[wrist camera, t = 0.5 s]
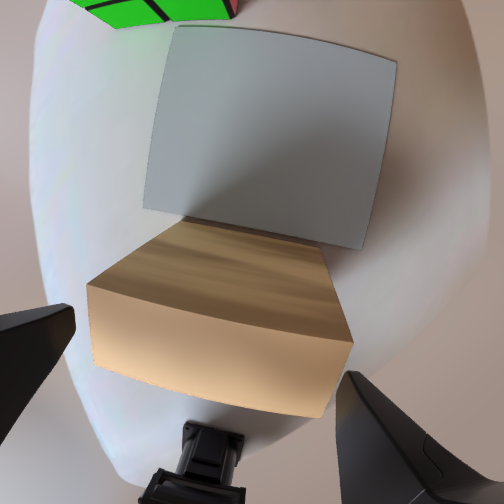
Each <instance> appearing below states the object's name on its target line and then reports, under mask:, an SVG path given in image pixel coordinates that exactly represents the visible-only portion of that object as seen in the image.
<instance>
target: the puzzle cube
mask: <svg viewBox="0 0 504 504" xmlns="http://www.w3.org/2000/svg"><path fill="white" fill-rule="evenodd" d="M70 1H72V2H73V3H75V4H77V5H79V6H80V7H82V8H84V7H85V9H86V10H87V11H88V12H90V13H91V14H93V15H95V16H96V17H98V18H99V19H101V20H103V21H104V22H106V23H107V24H109V25H110V26H112V27H113V28H115V29H119V28H125V27H131V26H138V25H145V24H153V23H163V22H166V21H167V20H168V19H169V18H170V19H171V20H172V21H186V20H214V19H232V18H233V17H235V16H236V10H237V4H238V0H70Z"/></svg>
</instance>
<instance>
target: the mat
mask: <svg viewBox="0 0 504 504" xmlns="http://www.w3.org/2000/svg"><path fill="white" fill-rule="evenodd" d="M396 66H397V63H396V62H393V61H390V60H387V59H384V58H381V57H378V56H375V55H372V54H368V53H365V52H361V51H358V50H354V49H351V48H347V47H343V46H339V45H335V44H331V43H327V42H322V41H317V40H313V39H308V38H302V37H297V36H291V35H285V34H279V33H272V32H264V31H255V30H246V29H234V28H218V27H175V30H174V33H173V37H172V41H171V45H170V49H169V53H168V57H167V61H166V65H165V70H164V74H163V79H162V83H161V88H160V93H159V98H158V103H157V108H156V114H155V119H154V125H153V131H152V137H151V144H150V151H149V158H148V165H147V173H146V181H145V190H144V199H143V208H145V209H151V210H156V211H162V212H168V213H173V214H179V215H184V216H190V217H195V218H201V219H206V220H212V221H217V222H222V223H227V224H233V225H238V226H243V227H248V228H253V229H259V230H264V231H269V232H274V233H279V234H284V235H289V236H294V237H299V238H304V239H308V240H313V241H318V242H323V243H328V244H332V245H337V246H342V247H347V248H351V249H356V250H362V246H363V242H364V239H365V235H366V231H367V227H368V223H369V219H370V215H371V211H372V207H373V202H374V198H375V194H376V189H377V185H378V180H379V175H380V170H381V165H382V160H383V155H384V150H385V144H386V139H387V133H388V127H389V120H390V114H391V107H392V100H393V92H394V84H395V76H396Z"/></svg>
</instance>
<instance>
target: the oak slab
mask: <svg viewBox="0 0 504 504" xmlns="http://www.w3.org/2000/svg"><path fill="white" fill-rule="evenodd" d="M86 287H87V304H88V316H89V327H90V336H91V345H92V352H93V360H94V365H97V366H99V367H102V368H105V369H107V370H110V371H113V372H116V373H118V374H121V375H124V376H127V377H130V378H133V379H136V380H139V381H142V382H145V383H149V384H152V385H155V386H158V387H162V388H165V389H169V390H172V391H176V392H179V393H183V394H187V395H191V396H195V397H199V398H203V399H207V400H211V401H216V402H220V403H225V404H230V405H235V406H240V407H245V408H250V409H256V410H262V411H268V412H274V413H281V414H288V415H295V416H303V417H312V418H321V416H322V414H323V412H324V410H325V408H326V406H327V404H328V402H329V400H330V397H331V395H332V393H333V391H334V389H335V387H336V384H337V382H338V380H339V377H340V375H341V373H342V371H343V368H344V366H345V363H346V361H347V359H348V356H349V354H350V351H351V349H352V346H353V344H354V342H353V339H352V336H351V333H350V330H349V327H348V324H347V322H346V319H345V316H344V313H343V310H342V307H341V305H340V302H339V299H338V296H337V294H336V291H335V288H334V286H333V283H332V280H331V278H330V275H329V272H328V270H327V267H326V265H325V262H324V259H323V257H322V254H321V252H320V249H319V247H314V246H309V245H304V244H299V243H294V242H289V241H284V240H279V239H274V238H269V237H264V236H259V235H254V234H249V233H244V232H238V231H233V230H228V229H223V228H218V227H212V226H207V225H202V224H197V223H191V222H186V221H180V222H178V223H176V224H175V225H173V226H172V227H170V228H169V229H167V230H165V231H164V232H162V233H161V234H159V235H158V236H156V237H155V238H153V239H152V240H150V241H148V242H147V243H145V244H144V245H142V246H141V247H139V248H138V249H136V250H135V251H133V252H132V253H130V254H129V255H127V256H126V257H124V258H123V259H122V260H120V261H119V262H117V263H116V264H114V265H113V266H111V267H110V268H108V269H107V270H106V271H104V272H103V273H101V274H100V275H98V276H97V277H96V278H94V279H93V280H91V281H90V282H89V283H87V284H86Z"/></svg>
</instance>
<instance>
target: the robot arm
mask: <svg viewBox="0 0 504 504" xmlns="http://www.w3.org/2000/svg"><path fill="white" fill-rule="evenodd" d="M75 331H76V323H75V313H74V308H73V307H72V306H70V305H67V304H65V303H61V304H56V305H50V306H45V307H41V308H35V309H30V310H25V311H19V312H15V313H9V314H4V315H0V445H1V444H2V442H3V441H4V439H5V437H6V436H7V434H8V433H9V431H10V430H11V428H12V426H13V425H14V423H15V422H16V420H17V419H18V417H19V416H20V414H21V413H22V411H23V410H24V409H25V407H26V406H27V404H28V403H29V401H30V399H31V398H32V397H33V396H34V394H35V393H36V391H37V390H38V388H39V387H40V385H41V384H42V383H43V381H44V380H45V379H46V377H47V376H48V375H49V373H50V372H51V371H52V369H53V368H54V366H55V365H56V363H57V362H58V360H59V359H60V357H61V355H62V354H63V352H64V350H65V349H66V347H67V345H68V344H69V342H70V340H71V339H72V337H73V336H74V334H75ZM244 441H245V437H244V436H243V435H239V434H234V433H229V432H224V431H219V430H215V429H210V428H206V427H202V426H198V425H194V424H190V423H185V424H184V426H183V439H182V454H181V457H180V460H179V463H178V466H177V469H176V472H175V473H172V472H169V471H166V470H164V469H162V468H159V469H158V471H157V473H155V474H153V477H152V479H151V481H150V483H149V485H148V487H147V489H146V490H145V491H144V492H143V493H142V495H141V496H140V497H139V499H138V503H139V504H245V494H246V488H244V487H240V488H238V487H233V486H231V483H232V478H233V472H234V467H236V466H237V464H238V461H239V457H240V454H241V451H242V448H243V444H244ZM336 445H337V455H338V465H339V475H340V487H341V500H342V504H504V482H498V481H493V480H490V479H487V478H486V477H484V476H482V475H481V474H479V473H478V472H477V471H475V470H474V469H472V468H471V467H469V466H468V465H467V464H465V463H464V462H462V461H461V460H460V459H458V458H457V457H456V456H454V455H453V454H452V453H450V452H449V451H448V450H446V449H445V448H444V447H442V446H441V445H440V444H439V443H438V442H437V441H436V440H434V439H433V438H432V437H431V436H430V435H429V434H426V432H425V431H424V430H423V429H422V428H421V427H420V426H419V425H417V424H416V423H415V422H414V421H413V420H412V419H411V418H410V417H409V416H407V415H406V414H405V413H404V412H403V411H402V410H401V409H400V408H399V407H397V406H396V405H395V404H394V403H393V402H392V401H391V400H390V399H389V398H387V397H386V396H385V395H384V394H383V393H382V392H381V391H380V390H379V389H378V388H376V387H375V386H374V385H373V384H372V383H371V382H370V381H369V380H368V379H367V378H365V377H364V376H363V375H362V374H361V373H360V372H358V371H349V370H348V371H346V372H345V374H344V376H343V378H342V380H341V383H340V385H339V387H338V389H337V393H336Z"/></svg>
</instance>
